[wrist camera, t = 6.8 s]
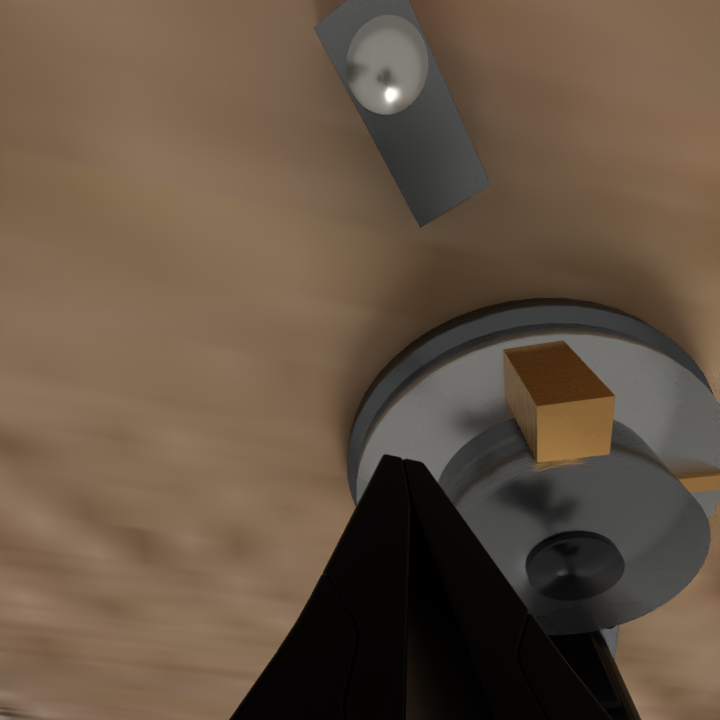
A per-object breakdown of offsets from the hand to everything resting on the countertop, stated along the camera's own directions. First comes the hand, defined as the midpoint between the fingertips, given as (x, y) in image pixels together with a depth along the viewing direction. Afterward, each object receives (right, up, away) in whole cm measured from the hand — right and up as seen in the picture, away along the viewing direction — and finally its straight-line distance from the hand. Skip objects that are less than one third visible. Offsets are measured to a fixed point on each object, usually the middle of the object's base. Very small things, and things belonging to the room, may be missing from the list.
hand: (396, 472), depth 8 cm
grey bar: (+1, +10, +5) cm, 11 cm away
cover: (+7, -4, +9) cm, 12 cm away
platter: (+7, -3, +10) cm, 12 cm away
